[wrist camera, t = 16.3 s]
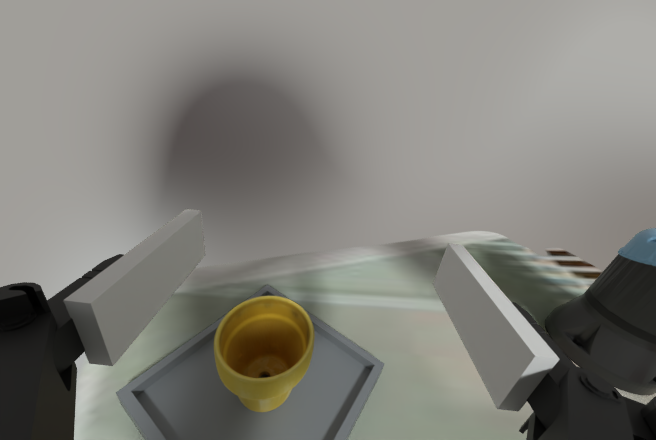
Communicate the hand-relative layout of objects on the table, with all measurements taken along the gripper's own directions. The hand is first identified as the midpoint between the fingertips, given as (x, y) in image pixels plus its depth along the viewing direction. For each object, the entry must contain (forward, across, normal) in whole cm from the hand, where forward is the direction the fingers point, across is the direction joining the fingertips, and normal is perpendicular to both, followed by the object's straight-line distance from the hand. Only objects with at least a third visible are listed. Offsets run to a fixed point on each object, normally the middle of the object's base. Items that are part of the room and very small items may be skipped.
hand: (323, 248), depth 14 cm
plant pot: (+8, -5, -26) cm, 27 cm away
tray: (+8, -4, -26) cm, 28 cm away
